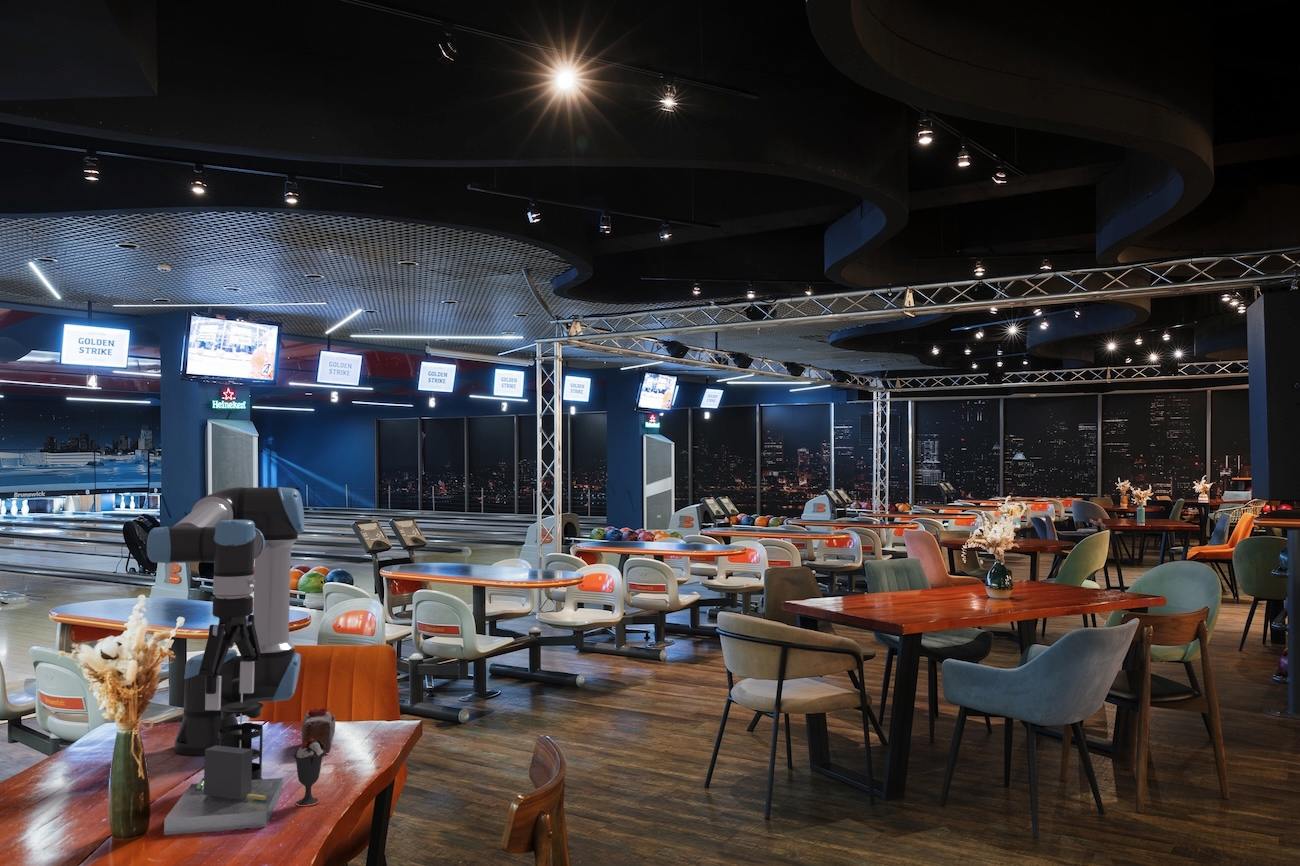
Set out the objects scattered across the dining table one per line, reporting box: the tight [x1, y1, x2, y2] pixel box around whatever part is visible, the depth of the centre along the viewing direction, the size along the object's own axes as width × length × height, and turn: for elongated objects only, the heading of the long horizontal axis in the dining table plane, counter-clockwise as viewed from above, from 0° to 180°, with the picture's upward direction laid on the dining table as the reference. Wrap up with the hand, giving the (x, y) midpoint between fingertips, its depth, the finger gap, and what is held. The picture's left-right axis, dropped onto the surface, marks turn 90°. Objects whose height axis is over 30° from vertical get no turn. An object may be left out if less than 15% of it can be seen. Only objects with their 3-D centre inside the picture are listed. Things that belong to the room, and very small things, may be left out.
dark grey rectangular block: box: [203, 745, 266, 800], centre depth 184 cm, size 14×3×9 cm, turn 74°
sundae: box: [291, 732, 326, 805], centre depth 190 cm, size 7×7×15 cm
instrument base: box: [163, 777, 284, 836], centre depth 184 cm, size 20×18×5 cm
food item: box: [301, 707, 336, 753], centre depth 228 cm, size 14×8×10 cm, turn 20°
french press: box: [218, 678, 264, 780], centre depth 202 cm, size 12×9×23 cm
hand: (230, 701), depth 185 cm, fingers open, 13 cm apart
